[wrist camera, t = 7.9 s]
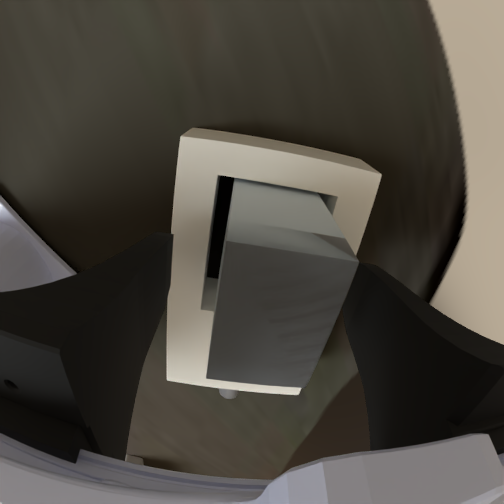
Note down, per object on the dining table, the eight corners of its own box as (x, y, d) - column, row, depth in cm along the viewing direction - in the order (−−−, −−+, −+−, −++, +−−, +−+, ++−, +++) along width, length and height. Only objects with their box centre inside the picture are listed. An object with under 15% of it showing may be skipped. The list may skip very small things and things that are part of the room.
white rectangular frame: (283, 386, 20) (287, 425, 17) (173, 373, 19) (165, 412, 16) (360, 159, 13) (388, 179, 10) (193, 127, 12) (176, 138, 9)
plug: (284, 269, 15) (305, 388, 9) (221, 259, 15) (206, 378, 9) (307, 177, 13) (359, 261, 7) (236, 164, 13) (226, 240, 7)
